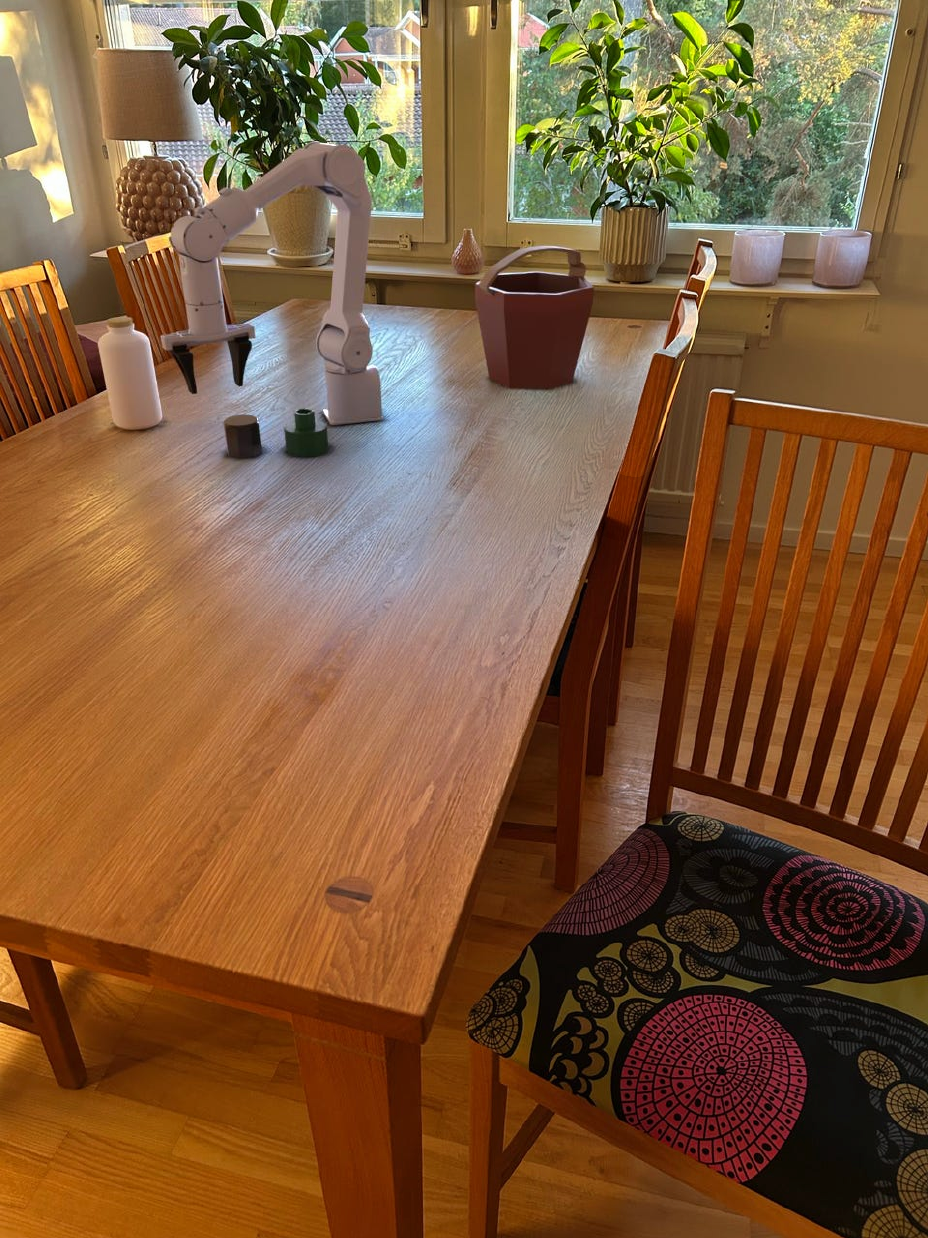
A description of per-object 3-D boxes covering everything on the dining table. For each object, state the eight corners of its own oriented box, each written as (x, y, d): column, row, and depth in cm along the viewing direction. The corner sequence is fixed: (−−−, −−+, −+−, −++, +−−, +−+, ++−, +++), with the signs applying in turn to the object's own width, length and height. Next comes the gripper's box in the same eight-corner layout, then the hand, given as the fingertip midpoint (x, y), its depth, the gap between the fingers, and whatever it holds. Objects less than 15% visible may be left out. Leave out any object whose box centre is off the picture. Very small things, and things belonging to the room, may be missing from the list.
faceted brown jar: (259, 444, 155) (255, 412, 152) (263, 456, 150) (260, 423, 147) (226, 448, 153) (221, 416, 150) (229, 459, 149) (225, 426, 146)
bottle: (323, 440, 157) (320, 403, 153) (332, 454, 151) (329, 415, 148) (283, 445, 155) (279, 407, 151) (290, 459, 149) (286, 420, 146)
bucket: (566, 358, 200) (574, 235, 187) (612, 388, 182) (623, 253, 169) (459, 368, 194) (459, 241, 181) (495, 400, 176) (498, 261, 163)
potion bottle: (172, 418, 166) (155, 315, 156) (144, 434, 159) (124, 327, 150) (133, 414, 168) (114, 312, 159) (104, 428, 161) (82, 323, 152)
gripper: (239, 291, 149) (249, 375, 156) (149, 302, 142) (164, 389, 149) (256, 299, 144) (265, 385, 151) (163, 310, 137) (177, 400, 144)
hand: (216, 388), depth 149 cm, fingers open, 7 cm apart
